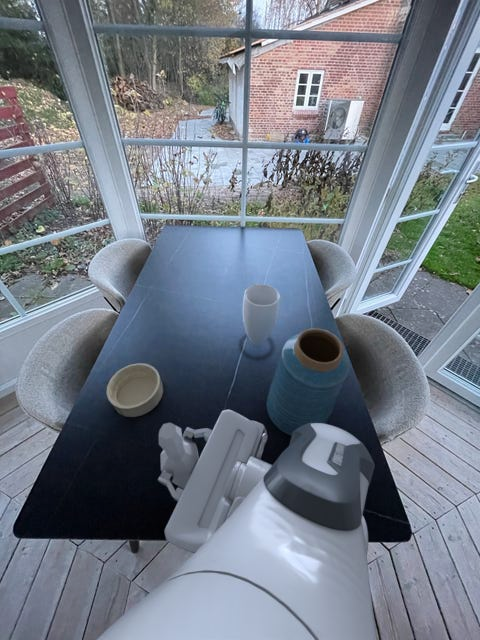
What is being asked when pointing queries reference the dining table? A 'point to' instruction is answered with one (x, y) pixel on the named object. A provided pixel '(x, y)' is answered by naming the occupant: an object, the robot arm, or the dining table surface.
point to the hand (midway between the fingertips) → (173, 453)
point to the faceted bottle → (177, 454)
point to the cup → (260, 312)
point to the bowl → (135, 390)
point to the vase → (307, 380)
